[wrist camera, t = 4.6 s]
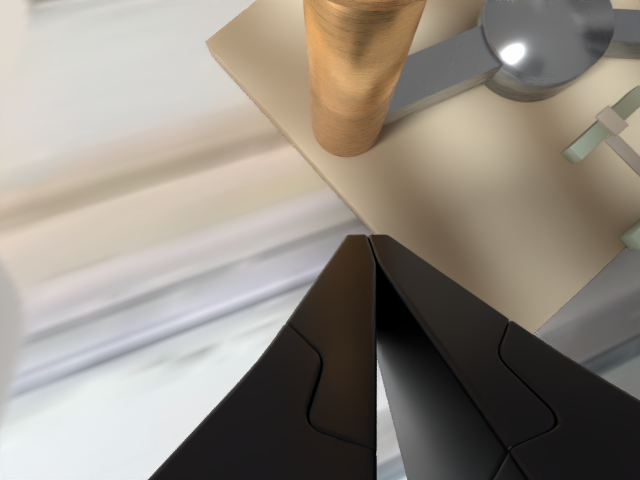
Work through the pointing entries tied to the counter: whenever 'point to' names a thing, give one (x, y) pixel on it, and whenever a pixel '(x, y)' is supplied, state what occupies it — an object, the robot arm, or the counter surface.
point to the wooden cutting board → (471, 163)
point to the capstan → (447, 58)
